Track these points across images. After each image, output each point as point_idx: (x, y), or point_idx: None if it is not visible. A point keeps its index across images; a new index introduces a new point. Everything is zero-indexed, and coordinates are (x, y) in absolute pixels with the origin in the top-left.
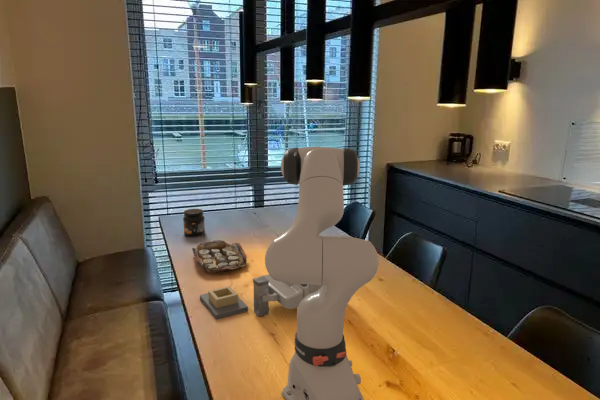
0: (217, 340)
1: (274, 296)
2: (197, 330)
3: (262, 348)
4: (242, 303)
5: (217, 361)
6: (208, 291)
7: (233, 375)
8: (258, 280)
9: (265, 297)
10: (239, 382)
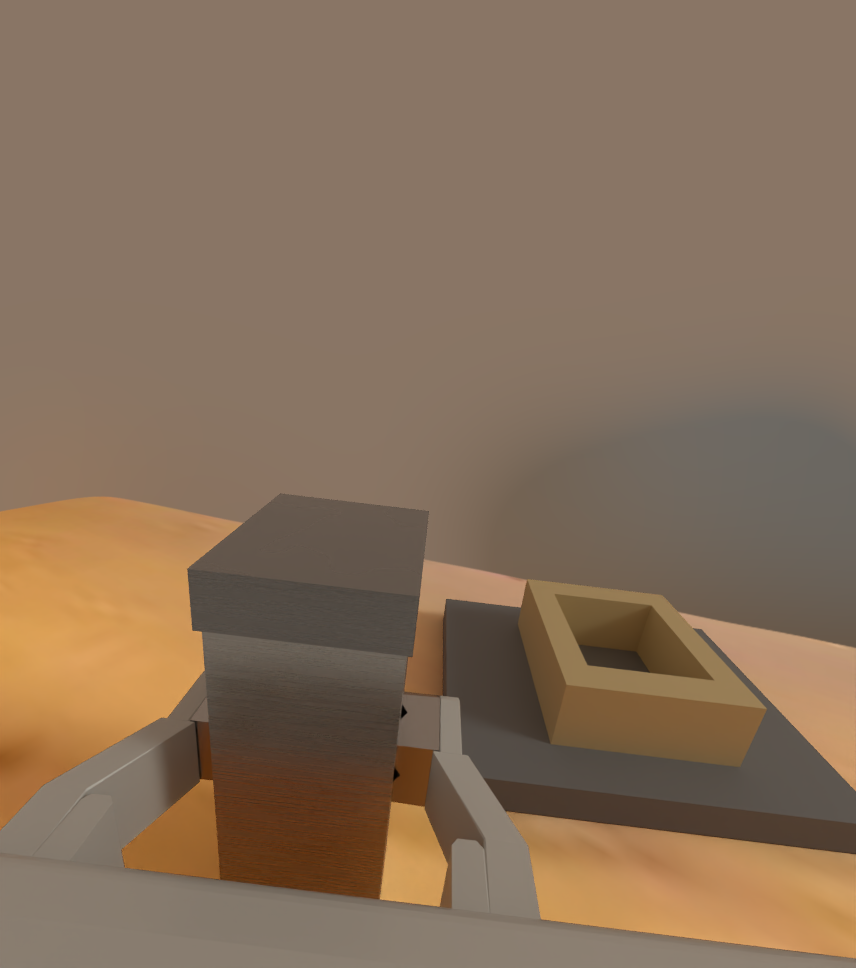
0: None
1: (48, 800)
2: None
3: (17, 636)
4: (525, 766)
5: (190, 531)
6: (656, 596)
7: (83, 527)
8: (337, 516)
9: (193, 693)
10: (39, 523)
